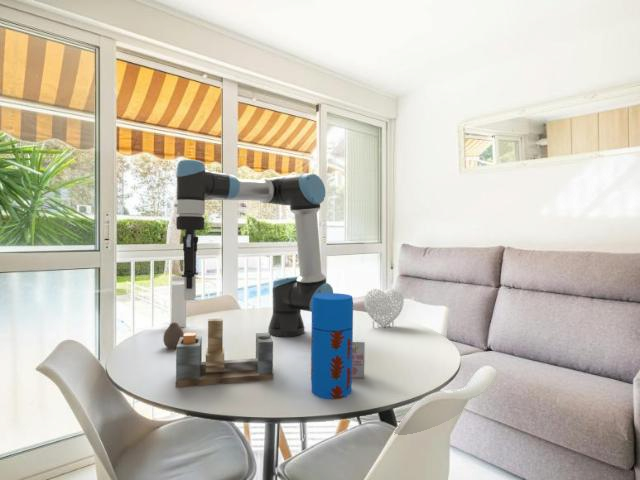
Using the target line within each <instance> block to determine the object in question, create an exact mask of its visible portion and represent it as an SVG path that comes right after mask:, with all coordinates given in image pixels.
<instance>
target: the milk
mask: <svg viewBox="0 0 640 480" xmlns="http://www.w3.org/2000/svg"><path fill="white" fill-rule="evenodd" d="M170 283H171V284H170V287H171V289H170V291H171V292H170V293H171V294H170V323H174V322H176V323H178V325H179V326H180V328H186V327H187V300H185V301H184V277H182V275H181V276H177V275H176V276H171V281H170Z"/></svg>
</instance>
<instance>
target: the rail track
mask: <svg viewBox="0 0 640 480" xmlns="http://www.w3.org/2000/svg"><path fill="white" fill-rule="evenodd" d="M271 336H272V335H271V334H269V333H268V332H257V333H255V358H243V359H229V360H228V359H227V360H225V359H224V371H215V372H206V361H202V356H203V355H202V353H203V352H202V350H203V348H202V347H203V346H202V343H203V337H202V336H201V335H199V336H197V335H196V343H190V344H183V337H180V339H179V342H178V344H177V347H176V349H175V358H176V359H175V362H176V363H175V370H176V371H175V388H182V387H195V386H207V385H208V386H209V385H221V384H222V385H223V384H230V383H231V384H233V383H243V382H246V383H247V382H258V381H259V382H260V381H269V380H270V381H272V380H274V371H273V370H274V369H273V368H274V363H273V362H274V341H273V338H272V337H271Z"/></svg>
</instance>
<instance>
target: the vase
mask: <svg viewBox="0 0 640 480" xmlns="http://www.w3.org/2000/svg"><path fill="white" fill-rule="evenodd" d="M184 333H185V332H184V331H183V329H182V327H180V326H179V325H178V323H176V322H174V323H171V322H170V324H169V326H168V327H167V328H166V329H165V331H164V334H163V343H164V346H165V347H166V348H167V349H169V350H176V347H177V344H178V342H179V339H180V337H183V335H184Z"/></svg>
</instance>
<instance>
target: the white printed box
mask: <svg viewBox="0 0 640 480" xmlns="http://www.w3.org/2000/svg"><path fill="white" fill-rule="evenodd" d="M365 345H366V344H365V341H353V348H352V379H362V380H364V379H365Z"/></svg>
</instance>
